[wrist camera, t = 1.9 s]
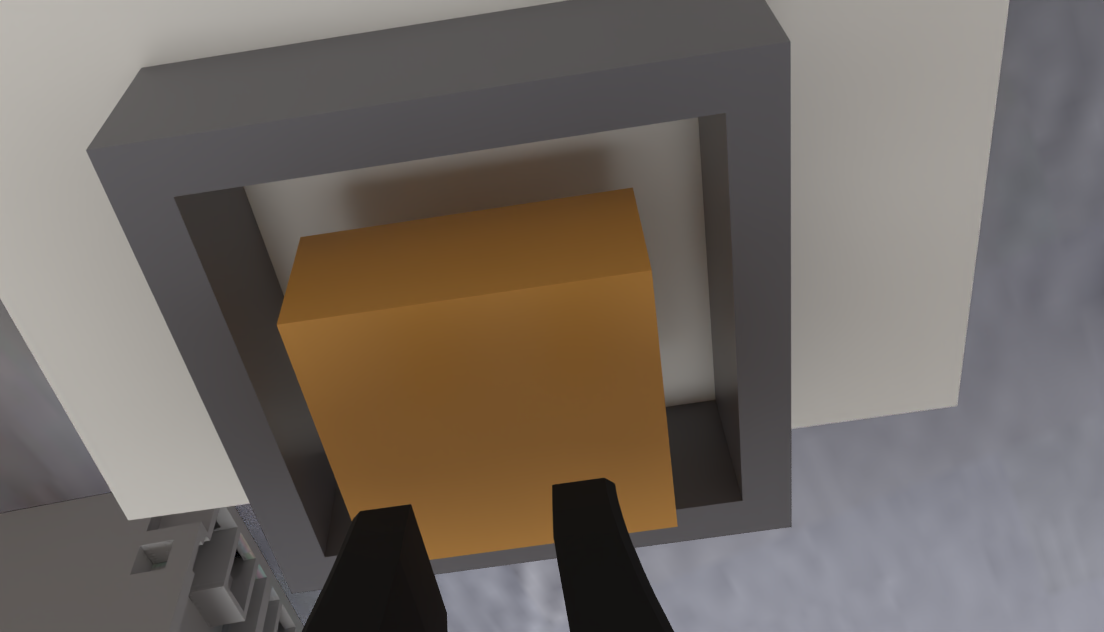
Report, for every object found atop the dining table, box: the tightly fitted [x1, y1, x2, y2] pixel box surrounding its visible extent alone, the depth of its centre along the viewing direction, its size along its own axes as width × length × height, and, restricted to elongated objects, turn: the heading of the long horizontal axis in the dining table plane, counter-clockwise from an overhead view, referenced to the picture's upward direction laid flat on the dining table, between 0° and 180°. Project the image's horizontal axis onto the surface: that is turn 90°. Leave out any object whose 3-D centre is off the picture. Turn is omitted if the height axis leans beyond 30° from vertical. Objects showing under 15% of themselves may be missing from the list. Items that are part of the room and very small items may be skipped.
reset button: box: [277, 188, 678, 560], centre depth 15 cm, size 5×5×2 cm
